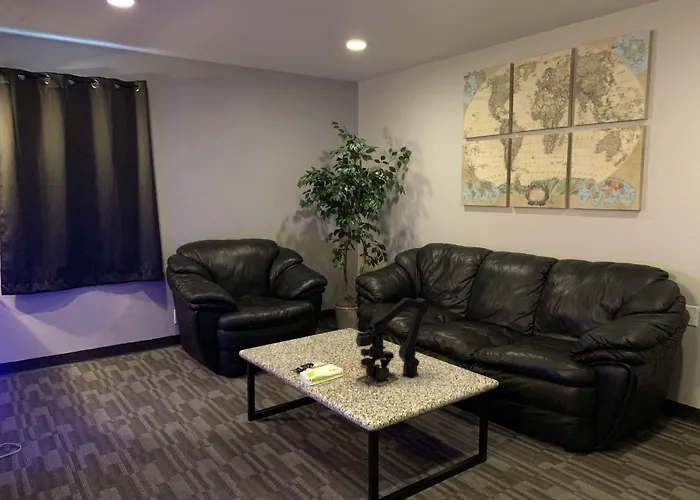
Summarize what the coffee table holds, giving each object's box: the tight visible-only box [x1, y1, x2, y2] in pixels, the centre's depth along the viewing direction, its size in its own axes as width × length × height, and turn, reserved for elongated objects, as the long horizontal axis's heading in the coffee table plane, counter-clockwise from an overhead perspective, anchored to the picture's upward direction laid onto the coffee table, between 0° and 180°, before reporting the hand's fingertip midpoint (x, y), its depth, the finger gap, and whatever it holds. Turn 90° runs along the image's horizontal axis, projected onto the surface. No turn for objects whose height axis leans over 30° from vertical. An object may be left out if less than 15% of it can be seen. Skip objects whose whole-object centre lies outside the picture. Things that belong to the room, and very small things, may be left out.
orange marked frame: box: [341, 365, 367, 381], centre depth 266 cm, size 15×15×1 cm
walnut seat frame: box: [356, 374, 400, 388], centre depth 256 cm, size 15×15×1 cm
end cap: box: [365, 363, 390, 383], centre depth 255 cm, size 10×7×7 cm
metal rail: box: [360, 364, 397, 377], centre depth 267 cm, size 22×2×1 cm, turn 47°
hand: (377, 375), depth 256 cm, fingers closed on end cap, 7 cm apart
